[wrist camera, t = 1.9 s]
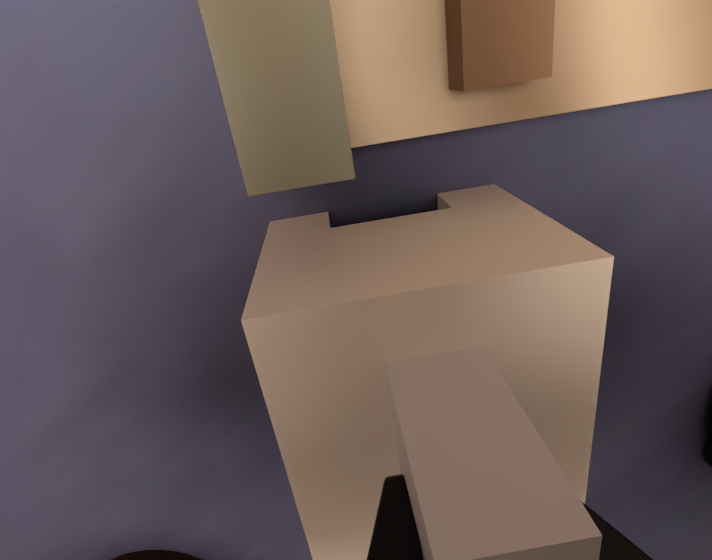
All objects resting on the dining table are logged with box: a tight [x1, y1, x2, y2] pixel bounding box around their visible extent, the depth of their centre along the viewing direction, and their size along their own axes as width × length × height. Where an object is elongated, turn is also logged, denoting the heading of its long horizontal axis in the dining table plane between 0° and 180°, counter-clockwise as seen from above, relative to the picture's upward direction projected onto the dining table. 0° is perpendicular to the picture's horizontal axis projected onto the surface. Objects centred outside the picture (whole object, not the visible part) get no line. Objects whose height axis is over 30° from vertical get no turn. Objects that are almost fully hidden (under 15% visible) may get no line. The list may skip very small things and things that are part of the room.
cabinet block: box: [241, 184, 614, 560], centre depth 11 cm, size 7×8×10 cm
